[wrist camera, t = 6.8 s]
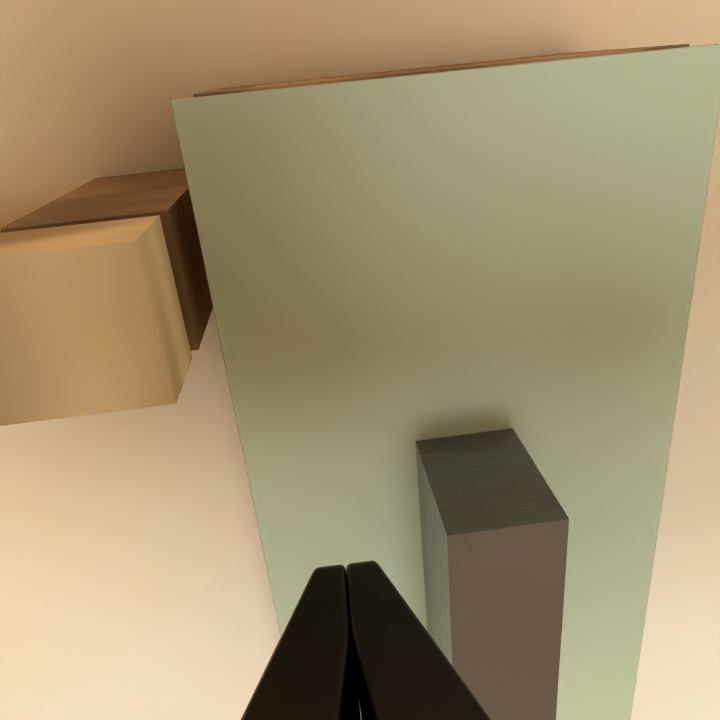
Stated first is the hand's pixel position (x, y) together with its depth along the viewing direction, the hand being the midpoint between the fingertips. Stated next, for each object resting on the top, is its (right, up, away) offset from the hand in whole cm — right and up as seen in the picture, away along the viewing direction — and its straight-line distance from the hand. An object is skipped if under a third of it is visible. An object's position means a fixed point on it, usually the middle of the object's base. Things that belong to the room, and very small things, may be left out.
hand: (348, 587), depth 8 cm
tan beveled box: (-7, +4, +4) cm, 9 cm away
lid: (+3, -2, +9) cm, 10 cm away
